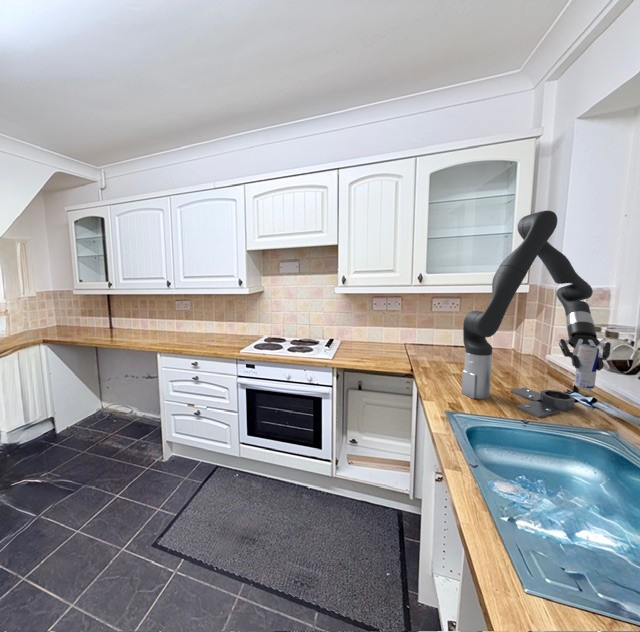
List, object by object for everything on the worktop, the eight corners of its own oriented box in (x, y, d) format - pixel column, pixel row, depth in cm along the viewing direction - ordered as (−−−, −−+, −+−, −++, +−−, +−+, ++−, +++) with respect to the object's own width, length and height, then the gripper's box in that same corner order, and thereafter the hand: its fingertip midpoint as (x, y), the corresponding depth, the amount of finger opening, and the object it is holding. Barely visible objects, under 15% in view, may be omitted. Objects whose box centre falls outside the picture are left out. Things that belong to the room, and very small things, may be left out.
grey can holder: (540, 418, 96) (541, 407, 96) (490, 396, 114) (491, 386, 114) (579, 408, 103) (580, 397, 102) (525, 389, 120) (526, 379, 120)
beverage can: (597, 390, 99) (603, 346, 97) (587, 391, 97) (592, 348, 95) (580, 384, 104) (585, 343, 101) (570, 386, 102) (575, 344, 100)
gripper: (558, 319, 107) (564, 360, 98) (610, 322, 101) (622, 365, 92) (553, 331, 112) (558, 370, 104) (602, 334, 106) (612, 376, 97)
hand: (588, 368), depth 98 cm, fingers closed on beverage can, 5 cm apart
